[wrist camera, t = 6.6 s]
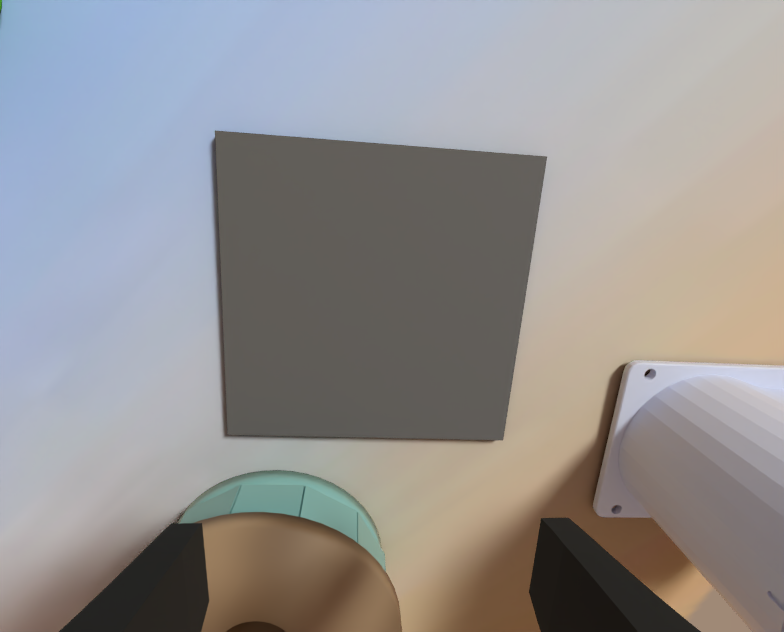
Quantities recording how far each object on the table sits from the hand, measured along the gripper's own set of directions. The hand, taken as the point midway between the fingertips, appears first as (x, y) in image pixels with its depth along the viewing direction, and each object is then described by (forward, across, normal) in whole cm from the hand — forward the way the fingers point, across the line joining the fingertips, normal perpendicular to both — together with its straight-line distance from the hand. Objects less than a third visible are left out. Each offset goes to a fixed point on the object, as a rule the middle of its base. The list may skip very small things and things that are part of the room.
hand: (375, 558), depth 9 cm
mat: (+10, 0, -3) cm, 10 cm away
